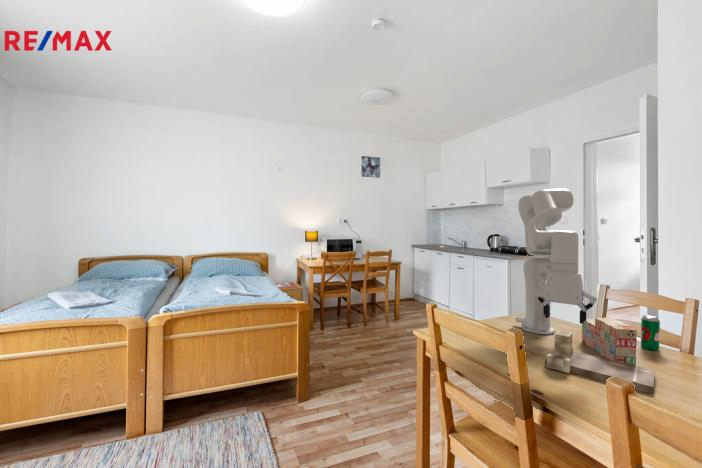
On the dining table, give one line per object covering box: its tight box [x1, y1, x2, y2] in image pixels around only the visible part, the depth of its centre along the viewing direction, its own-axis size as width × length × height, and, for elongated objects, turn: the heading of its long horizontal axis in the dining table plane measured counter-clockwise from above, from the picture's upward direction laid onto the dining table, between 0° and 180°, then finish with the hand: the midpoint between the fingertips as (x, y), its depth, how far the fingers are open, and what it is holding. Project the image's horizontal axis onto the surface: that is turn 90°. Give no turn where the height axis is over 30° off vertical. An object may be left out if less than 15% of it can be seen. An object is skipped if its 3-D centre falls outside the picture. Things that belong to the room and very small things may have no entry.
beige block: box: [546, 330, 574, 374], centre depth 106 cm, size 6×15×10 cm, turn 135°
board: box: [545, 349, 656, 395], centre depth 102 cm, size 26×14×2 cm, turn 45°
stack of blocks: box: [581, 317, 638, 366], centre depth 116 cm, size 21×6×12 cm, turn 169°
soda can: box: [640, 314, 661, 352], centre depth 118 cm, size 5×5×12 cm
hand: (564, 319), depth 106 cm, fingers open, 9 cm apart
